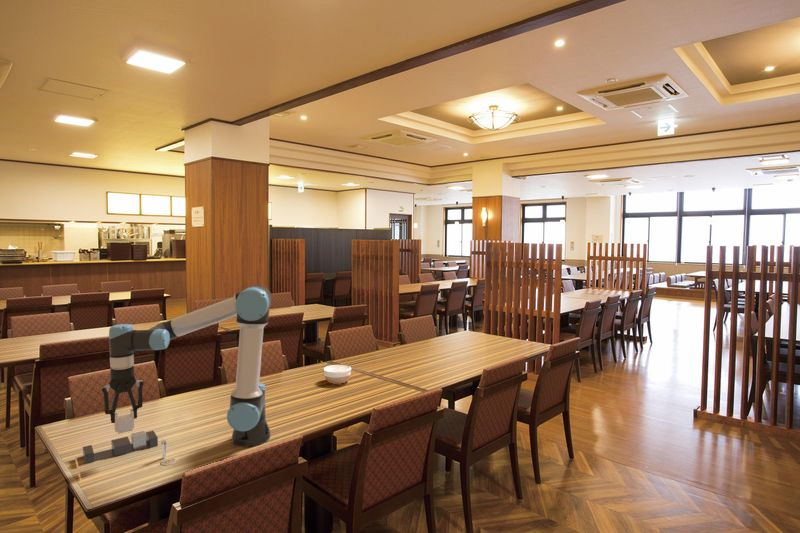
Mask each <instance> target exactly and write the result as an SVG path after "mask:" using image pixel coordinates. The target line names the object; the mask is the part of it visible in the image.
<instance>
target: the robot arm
mask: <svg viewBox="0 0 800 533" xmlns="http://www.w3.org/2000/svg"><path fill="white" fill-rule="evenodd" d="M272 303H273V295H272V292H271V291H270V290H269V288H267V287H266V286H264V285H261V284H253V285H250V286H249V287H247V288H245V289H243V290H241V291H240V292H236V293H234V294H233V296H232V297H230V298H227V299H224V300H221V301H219V302H216V303H213V304H210V305H208V306H204V307H202V308H199V309H197V310H194V311H191V312H188V313H185V314H183V315H180V316H177V317H175V318H172V319H169V320H166V321H162V322H159V323H156V325H155V326H152V327H150V328H149V329H148V328H147V329H134V327H133V325H132V324H131V323H119V324H115V325H112V326H110V327H109V330H108V344H109V345H108V347H109V367H110V369H109V371H110V372H109V373H110V374H109V376H110V381H109V383H108V384H107V385H103V386H101V391H102V393H103V408H104V414H105V415H110V422H111V424H113V426H114V432H115V433H118V419H117V416H118V413H117V412H116V409H117V405H118V402H119V396H120V394H122V393H127V394H128V398H129V401H130V404H131V407H132V409H130V410H129V412H130V413H129V414H130V415H131V417H132V430H133V429H135V420H136V419H137V418H138V409H141V408H143V386H144V384H145V382H144V380H142V379H139V380H138V379H136V376H135V366H134V365H135V357H134V356H135V354H134V353H135V351H160V350H165V349H167V348H168V347H169V345H170V342H171V340H174V339H177V338H178V337H179V338H180V337H182V336H184V335H187V334H190V333H192V332H196V331H199V330H201V329H204V328H207V327H210V326H212V325H215V324H219V323H221V322H223V321H226V320H230V319H232V318H234V317H236V319H235V320H236V321H235V322H236V323H237V325H238V326H239V337H238V349H237V350H238V352H237V362H236V363H237V364H236V365H237V366H236V373H235V374H236V375H235V376H236V377H235V388H233V390H231V391H230V399H229V400H230V401H229V408H228V411H227V413H226V422H227V423H228V425H229V426H230V427H231V428H232V429H233V430H232V431H233V432H232V434H231V442H232V444H234V445H235V446H239V447H253V446H257V445H260V444H263V443H265V442H266V443H267V441H268V440H270V438H271V430H270V427H269V424H268V421H267V419H266V418H267V417H266V391H267V390H266V385H265V384H264V383H263V382H260V380H261V379H260V377H261V368H262V354H263V339H264V328H265V327H266V326H267V325H268V324H269V318H270V307H271V305H272ZM135 384H136V387H137V404H136V400H135V398H134V394H133V390H132V388H133V387H134V386H135ZM110 388H111V390H113V391H114V394H113V398H112V403H111V406H110V404H109V391H110Z"/></svg>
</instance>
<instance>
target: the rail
mask: <svg viewBox="0 0 800 533" xmlns="http://www.w3.org/2000/svg"><path fill="white" fill-rule="evenodd" d="M145 434H146V447H144V448H140V449H136V450H133V448H132V446H131V440H130V439H129V437H128V436H123V437H119V438H116V439H112V440H110V442H111V449H107V450H106V449H105V450H102V451H98V452H94V449H93V446H92V444H90V445H85V446H82V457H83V461H84V465H87V464H92V463H95V462H98V461H103V460H107V459H110V458H115V457H118V456H122V455H127V454H131V453H134V452H138V451H143V450H146V449H150V448H151V449H152V448H155V447H158V444H159V441H158V439H159V438H158V437H159V436H157V434H156V432H155V431H154V430H150V431H145Z"/></svg>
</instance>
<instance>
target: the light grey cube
mask: <svg viewBox="0 0 800 533" xmlns="http://www.w3.org/2000/svg"><path fill="white" fill-rule="evenodd" d="M130 443H131V446H132V448H133V450H136V449H140V448H144V447H146V431H144V430H140V431H137V432H133V433H130Z"/></svg>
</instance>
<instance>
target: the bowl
mask: <svg viewBox="0 0 800 533" xmlns="http://www.w3.org/2000/svg"><path fill="white" fill-rule="evenodd" d="M323 371H324V373H323V375H324V379H325V380H326V381H327V382H330V383H333V384H332V385H334V384H339V385H342V384H341V383H344V384H346V383H347V382H348V380H350V378H351V374H352V373H351V371H352V367H351V366H349V365H348V364H347V365H345V364H330V365H327V366H325V367H324V368H323ZM346 381H347V382H346ZM345 382H346V383H345ZM330 383H329V384H330Z"/></svg>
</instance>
